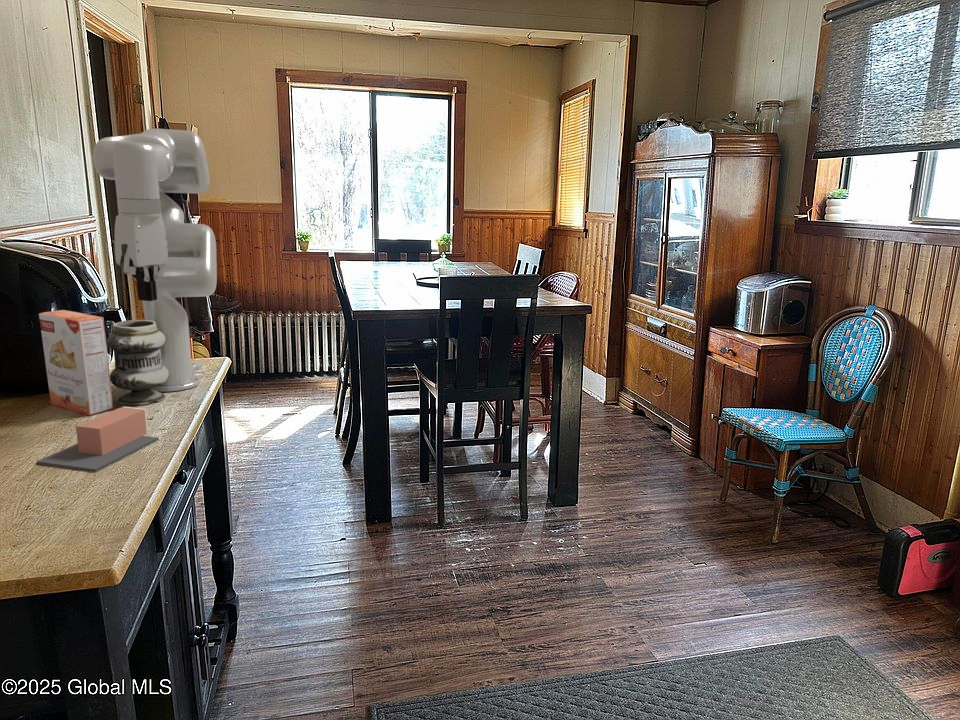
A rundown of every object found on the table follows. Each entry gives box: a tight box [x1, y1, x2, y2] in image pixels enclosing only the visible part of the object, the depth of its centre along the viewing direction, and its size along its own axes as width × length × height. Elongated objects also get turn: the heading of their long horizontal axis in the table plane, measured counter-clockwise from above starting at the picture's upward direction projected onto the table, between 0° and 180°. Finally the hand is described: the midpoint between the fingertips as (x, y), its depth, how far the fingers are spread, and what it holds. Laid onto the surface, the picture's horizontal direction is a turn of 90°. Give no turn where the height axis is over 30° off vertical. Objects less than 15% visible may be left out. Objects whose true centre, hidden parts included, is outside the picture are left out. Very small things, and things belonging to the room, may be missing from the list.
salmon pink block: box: [75, 406, 149, 455], centre depth 125 cm, size 5×5×12 cm
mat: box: [36, 435, 159, 473], centre depth 122 cm, size 16×12×1 cm
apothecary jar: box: [106, 319, 169, 406], centre depth 150 cm, size 12×12×18 cm
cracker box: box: [38, 309, 114, 417], centre depth 143 cm, size 14×6×21 cm, turn 62°
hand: (147, 299), depth 134 cm, fingers closed
